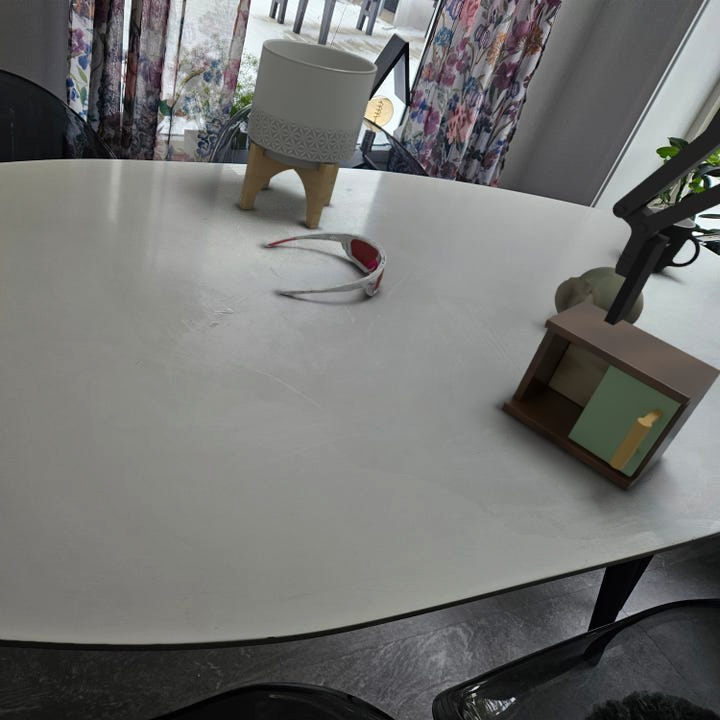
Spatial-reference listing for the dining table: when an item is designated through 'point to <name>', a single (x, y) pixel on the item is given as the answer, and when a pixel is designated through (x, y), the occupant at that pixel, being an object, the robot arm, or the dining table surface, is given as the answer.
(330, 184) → the planter
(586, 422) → the sliding door
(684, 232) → the mug
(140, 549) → the dining table surface
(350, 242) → the sunglasses
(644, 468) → the cupboard
